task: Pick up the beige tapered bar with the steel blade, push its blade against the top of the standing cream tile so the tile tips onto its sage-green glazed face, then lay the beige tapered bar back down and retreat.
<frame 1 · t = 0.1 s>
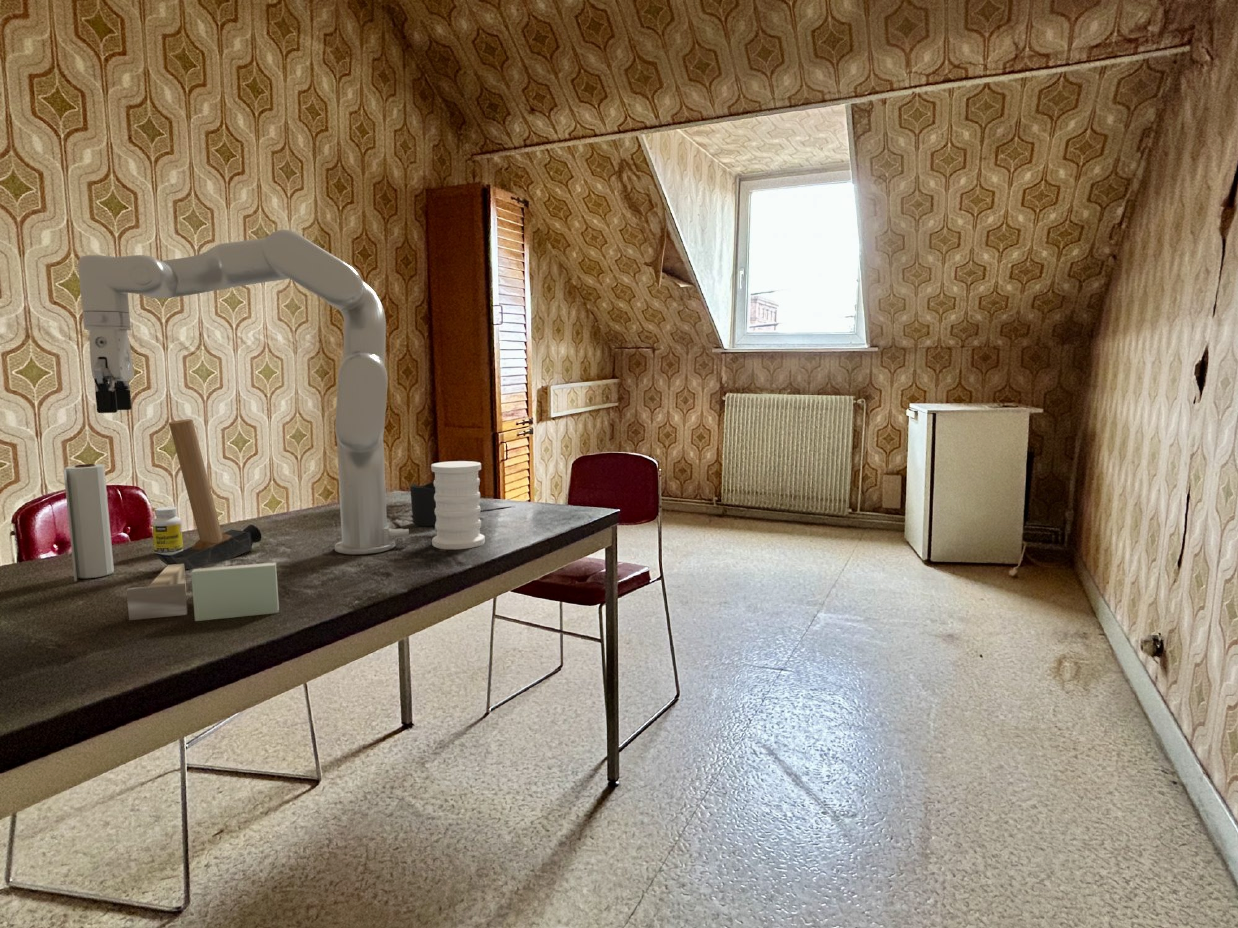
hand: (115, 411, 148), 31 cm above the table, fingers open, 9 cm apart
supplement bottle: (169, 553, 163), on the table
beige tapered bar: (169, 602, 129), on the table
tile: (238, 615, 123), on the table
pen holder: (430, 524, 192), on the table
paper towel roll: (92, 576, 146), on the table
decorative container: (458, 544, 171), on the table
hammer: (212, 561, 157), on the table
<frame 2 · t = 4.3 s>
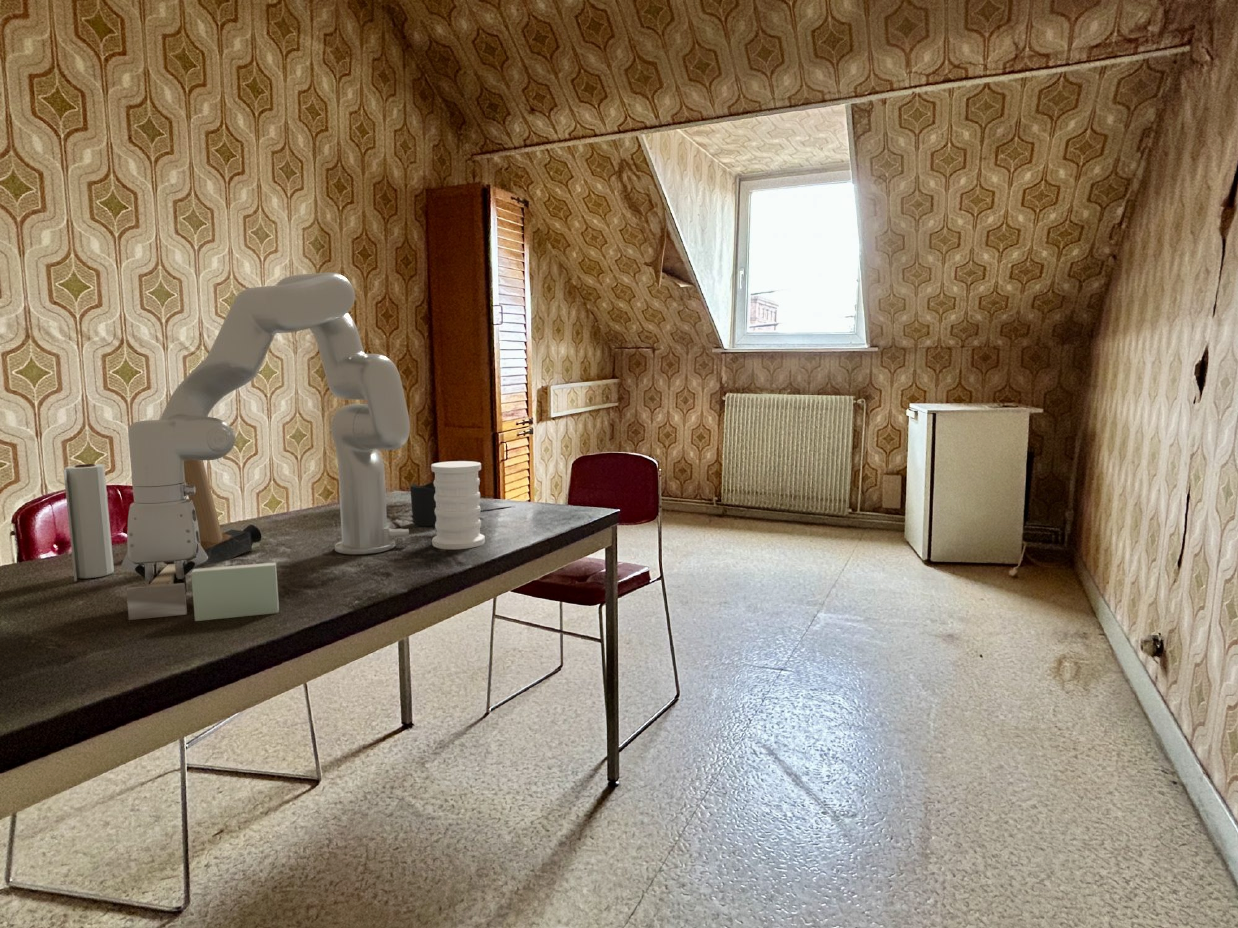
hand: (168, 599, 129), 0 cm above the table, fingers closed on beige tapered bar, 2 cm apart
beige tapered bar: (169, 602, 129), on the table, touching gripper
everything else where it was.
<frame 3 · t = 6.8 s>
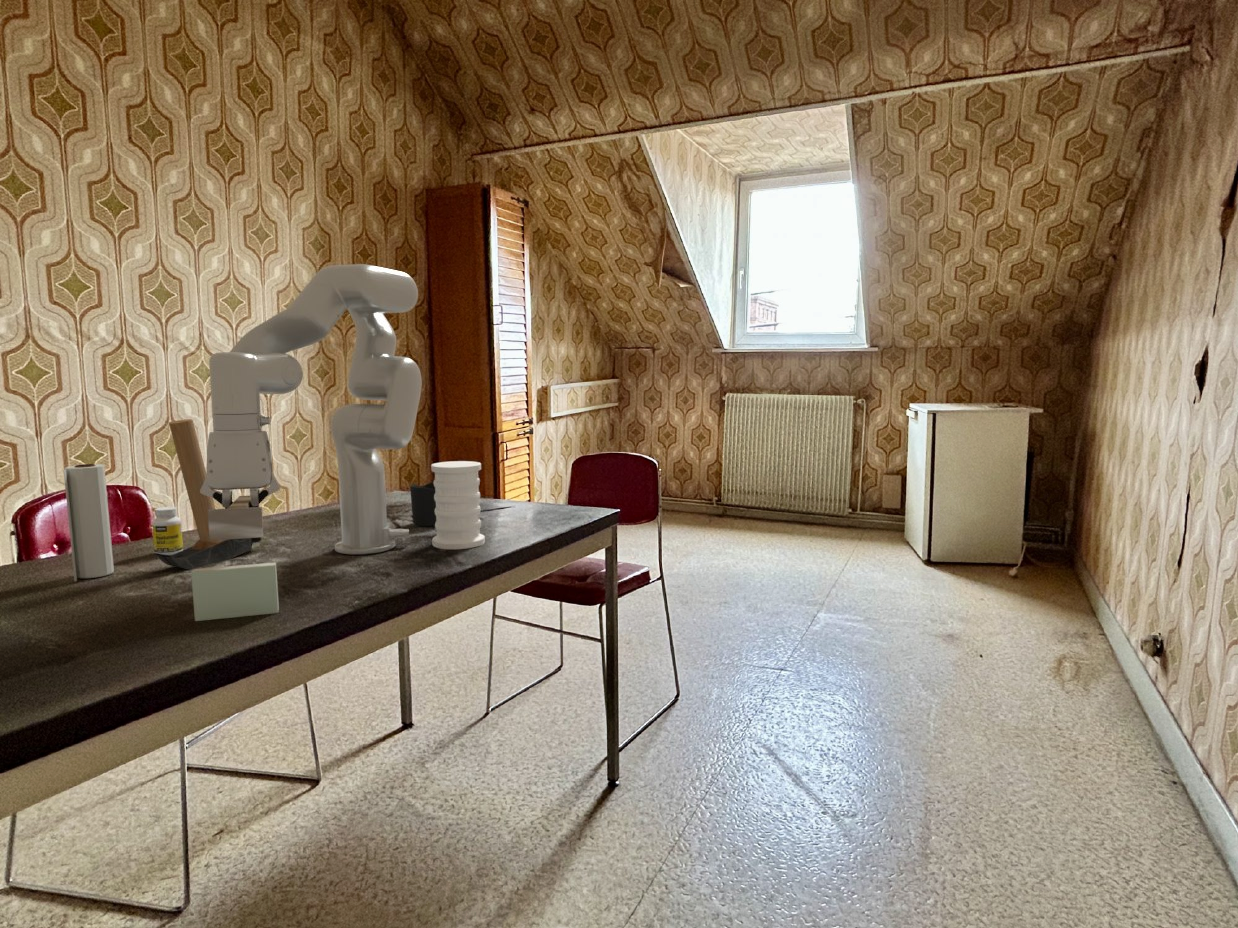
hand: (243, 527, 134), 12 cm above the table, fingers closed on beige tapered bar, 2 cm apart
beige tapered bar: (243, 529, 134), point 11 cm above the table, touching gripper
everything else where it was.
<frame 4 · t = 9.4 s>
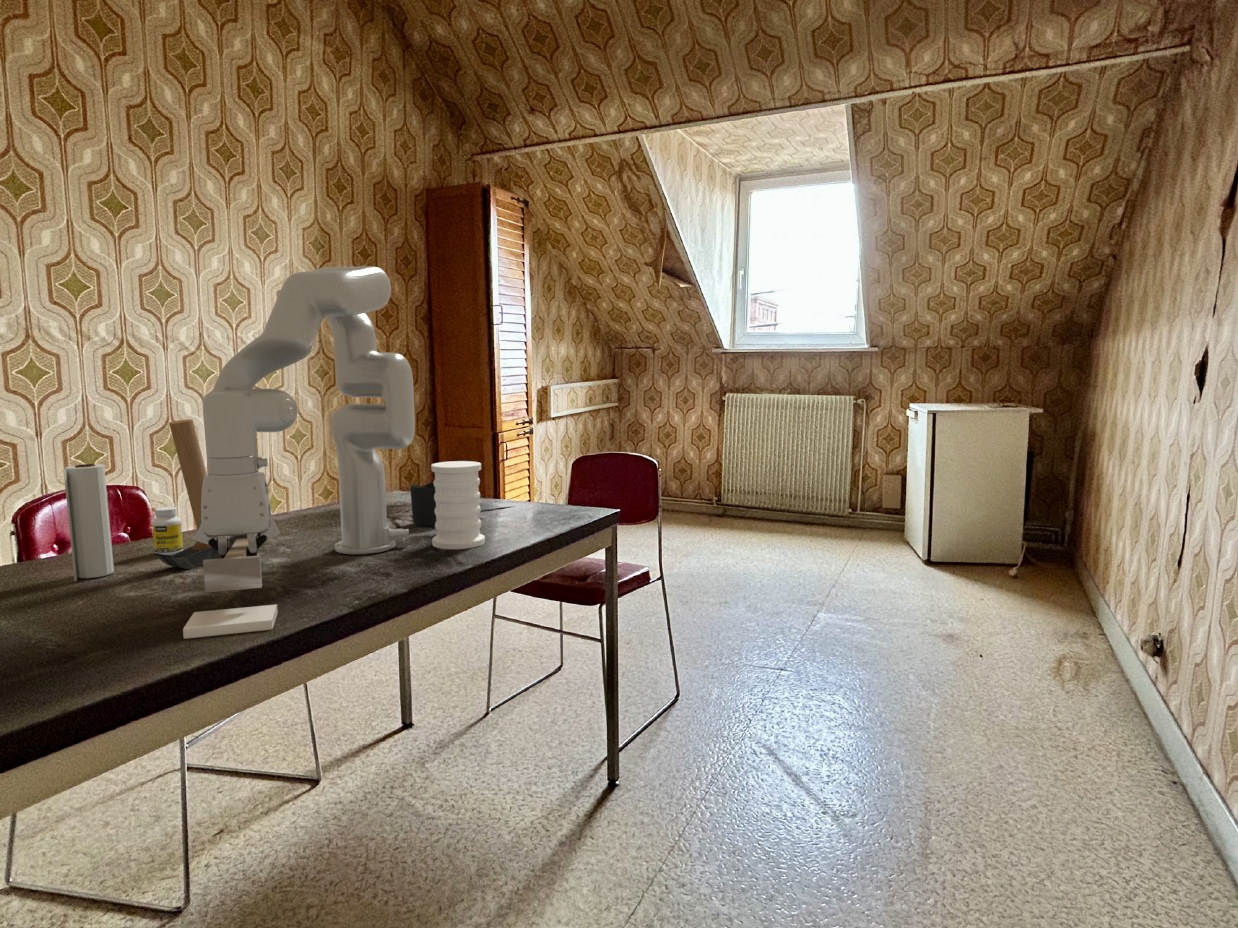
hand: (240, 574, 127), 5 cm above the table, fingers closed on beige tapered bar, 2 cm apart
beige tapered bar: (241, 576, 128), point 5 cm above the table, touching gripper
tile: (236, 614, 122), on the table, tilted 90°
everything else where it was.
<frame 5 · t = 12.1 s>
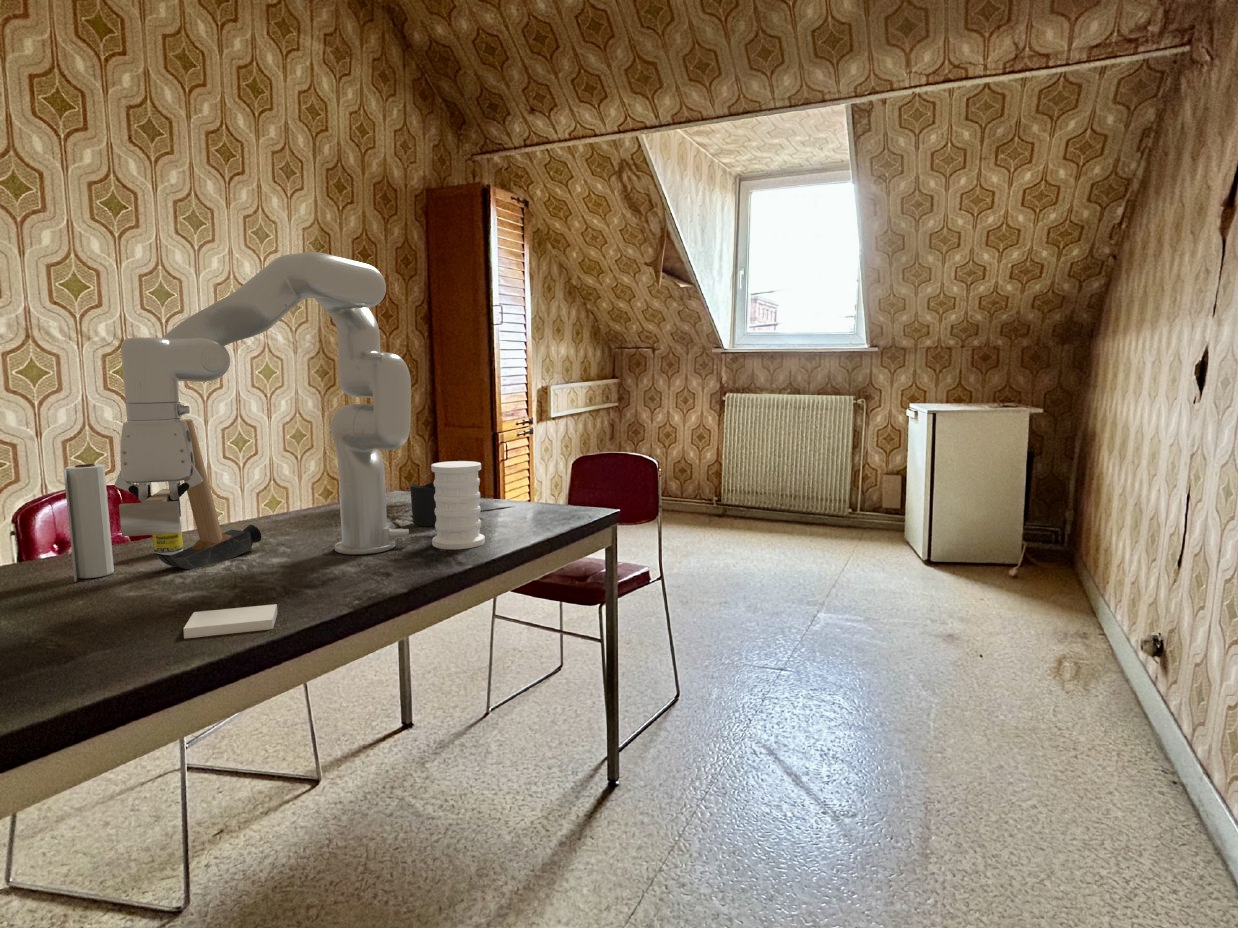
hand: (162, 522, 127), 14 cm above the table, fingers closed on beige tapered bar, 2 cm apart
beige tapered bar: (163, 524, 127), point 14 cm above the table, touching gripper
everything else where it was.
when the fingers open (2 cm above the table, at t = 14.5 s): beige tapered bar drops 1 cm, on the table.
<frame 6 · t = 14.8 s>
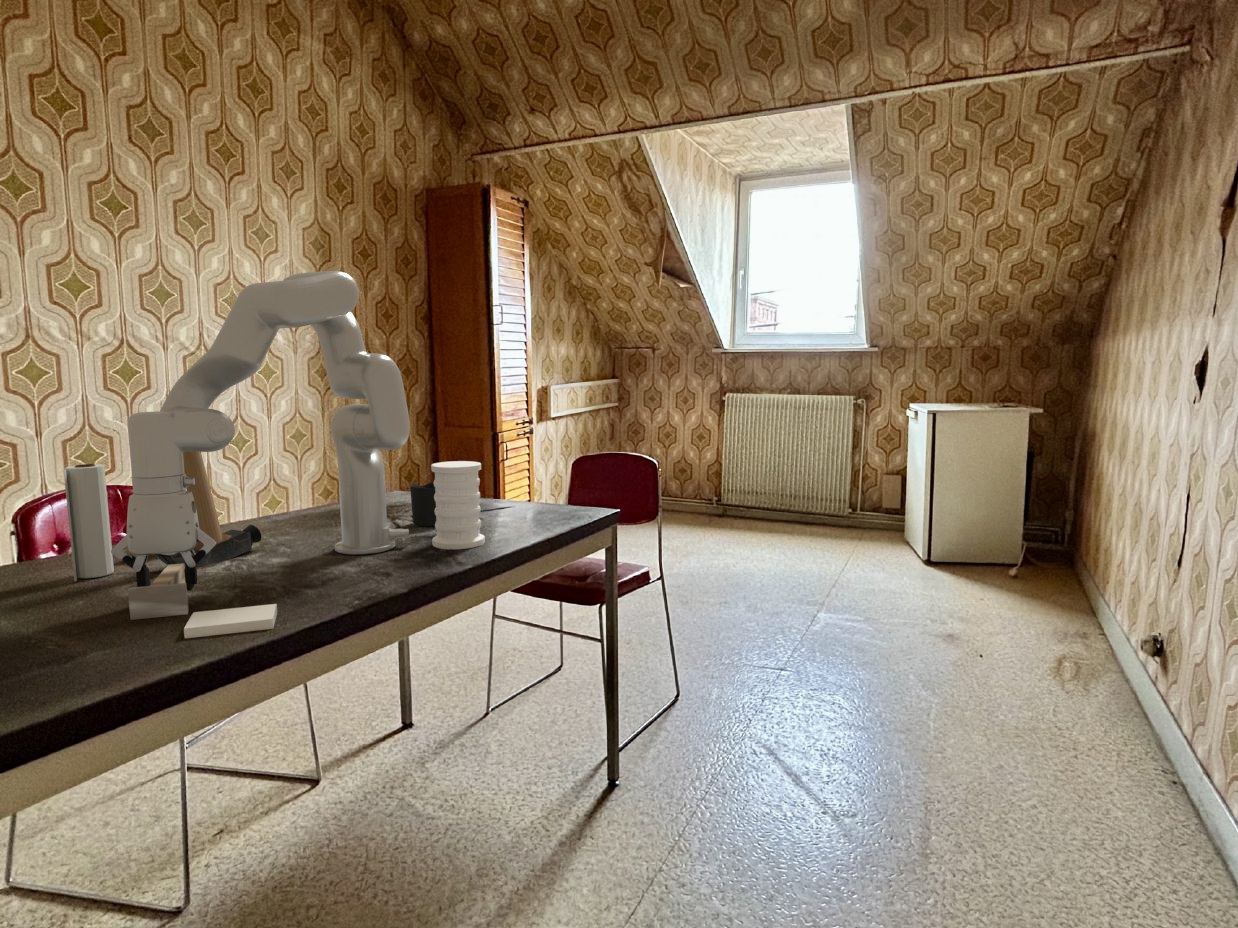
hand: (168, 589, 129), 2 cm above the table, fingers open, 6 cm apart
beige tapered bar: (170, 602, 129), on the table
everything else where it was.
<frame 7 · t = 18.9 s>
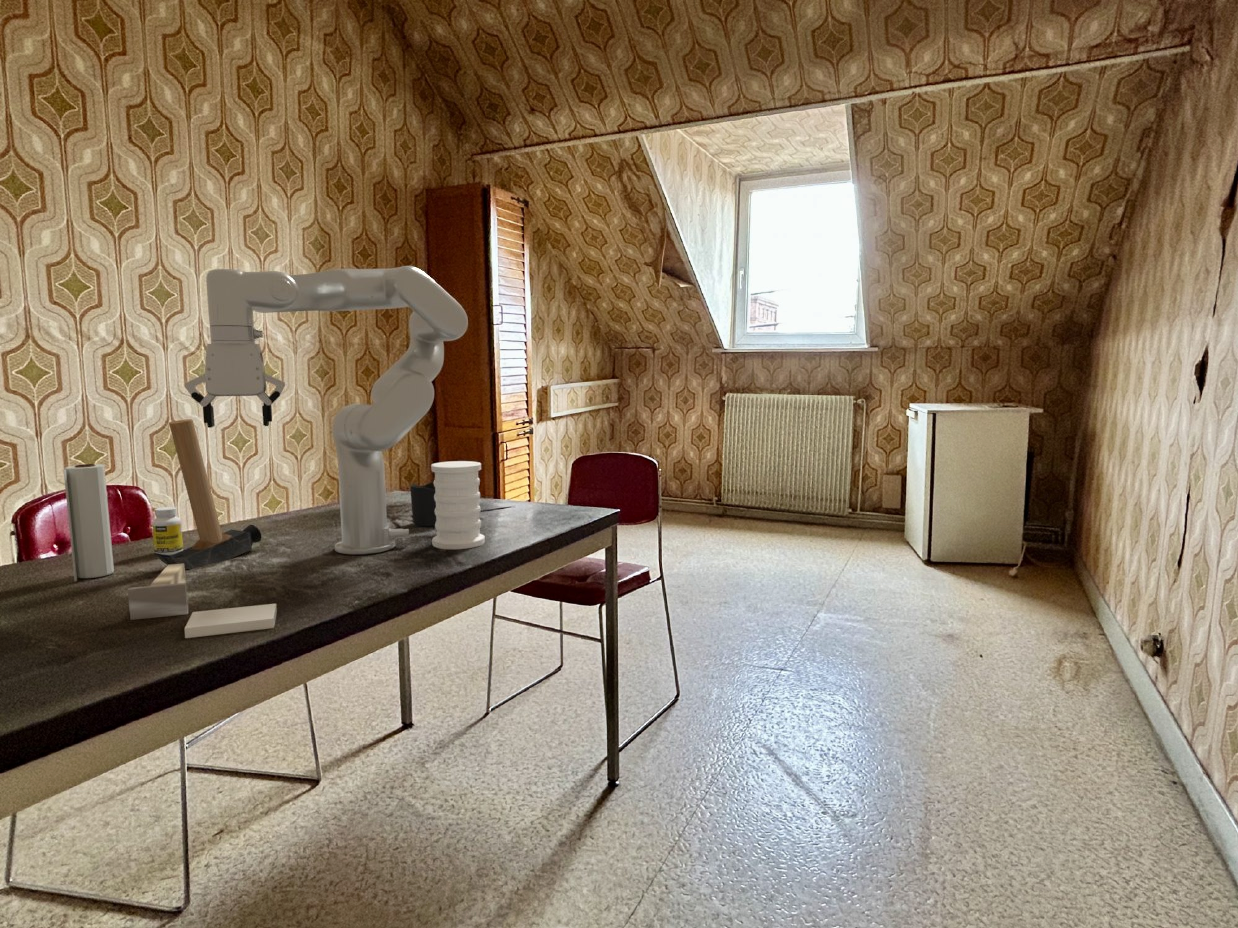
hand: (239, 426, 147), 28 cm above the table, fingers open, 9 cm apart
nothing on the table moved.
at the end: tile tilted 90°; tile inside the target area (2.5 cm from its centre), point 0.5 cm above the table; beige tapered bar inside the target area (0.2 cm from its centre), on the table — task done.
